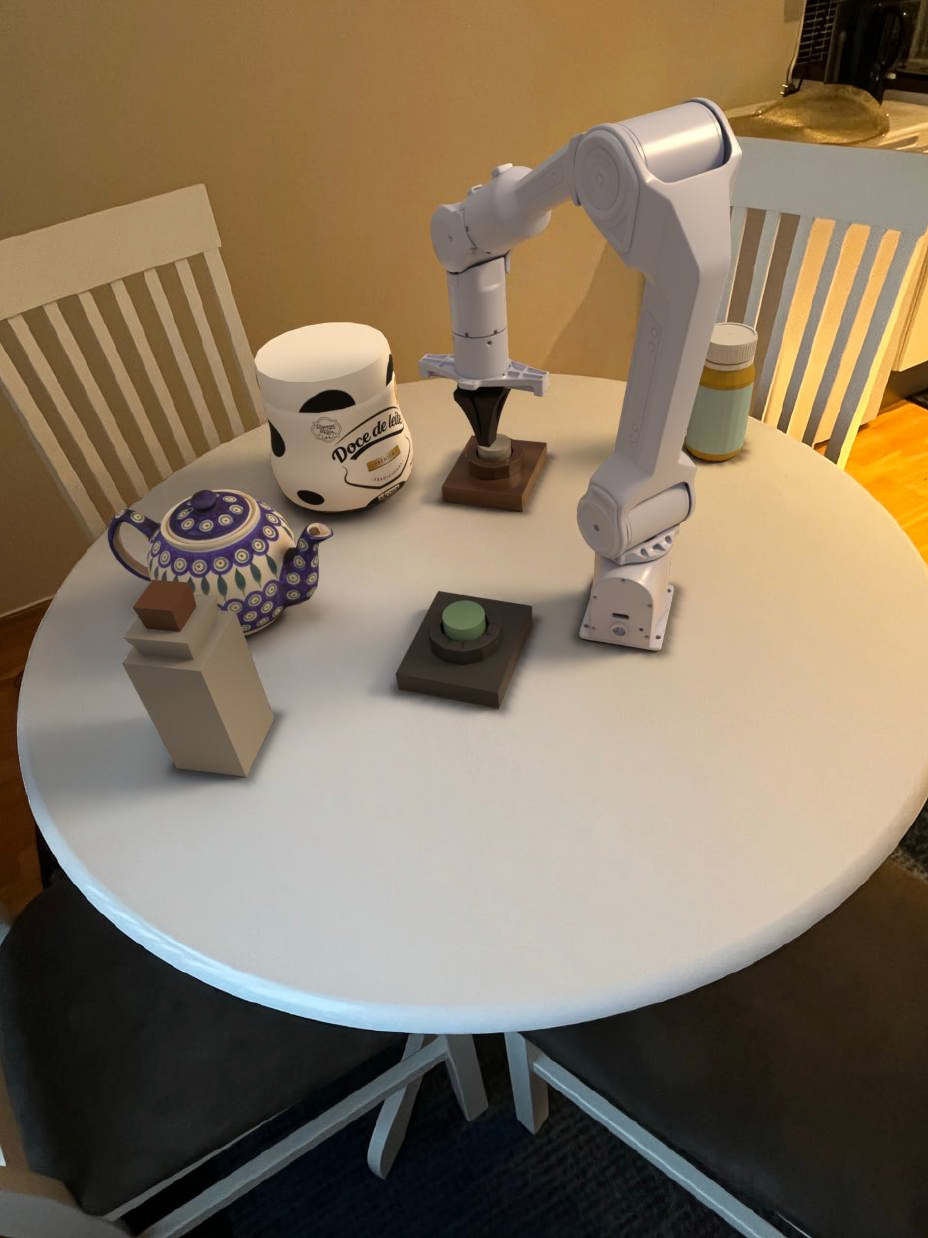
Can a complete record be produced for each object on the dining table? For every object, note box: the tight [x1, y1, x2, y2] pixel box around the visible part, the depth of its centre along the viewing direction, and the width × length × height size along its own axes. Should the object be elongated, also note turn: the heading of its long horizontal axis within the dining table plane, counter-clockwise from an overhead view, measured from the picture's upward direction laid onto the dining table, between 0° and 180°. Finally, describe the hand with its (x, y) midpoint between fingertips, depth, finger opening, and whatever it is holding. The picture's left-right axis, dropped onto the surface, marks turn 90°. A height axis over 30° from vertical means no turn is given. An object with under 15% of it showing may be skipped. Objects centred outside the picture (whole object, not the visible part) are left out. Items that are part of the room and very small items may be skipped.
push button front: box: [395, 590, 534, 709], centre depth 80 cm, size 12×10×4 cm
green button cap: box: [442, 601, 486, 642], centre depth 79 cm, size 4×4×2 cm
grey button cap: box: [478, 432, 511, 462], centre depth 101 cm, size 4×4×2 cm
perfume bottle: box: [121, 580, 275, 778], centre depth 70 cm, size 7×7×18 cm
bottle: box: [685, 321, 759, 462], centre depth 100 cm, size 7×7×15 cm
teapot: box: [107, 488, 334, 636], centre depth 85 cm, size 25×15×15 cm, turn 76°
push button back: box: [440, 434, 548, 512], centre depth 102 cm, size 12×10×4 cm
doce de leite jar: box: [253, 321, 414, 514], centre depth 99 cm, size 17×17×18 cm
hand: (487, 442), depth 94 cm, fingers closed
